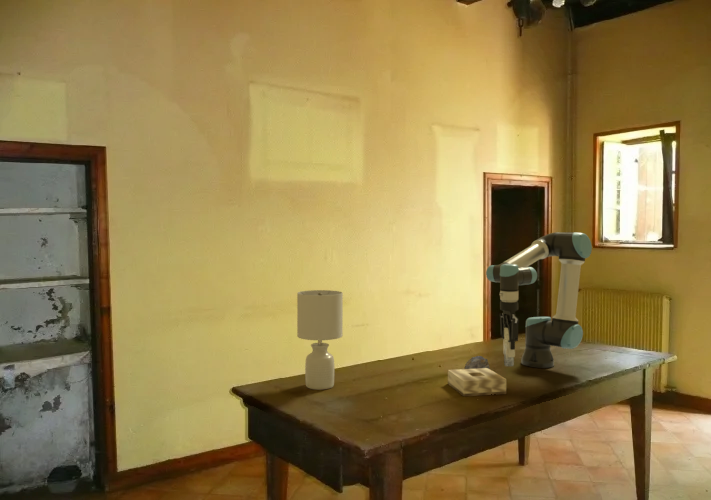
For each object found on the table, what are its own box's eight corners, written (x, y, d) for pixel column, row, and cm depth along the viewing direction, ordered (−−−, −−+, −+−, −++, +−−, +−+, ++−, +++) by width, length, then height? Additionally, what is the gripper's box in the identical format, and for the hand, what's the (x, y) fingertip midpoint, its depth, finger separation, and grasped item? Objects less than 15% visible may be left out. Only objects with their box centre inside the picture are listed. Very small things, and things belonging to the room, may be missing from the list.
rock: (491, 366, 263) (485, 350, 260) (489, 382, 255) (483, 365, 251) (468, 369, 268) (462, 352, 264) (466, 384, 260) (459, 367, 256)
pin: (511, 363, 247) (511, 326, 246) (515, 366, 243) (515, 328, 242) (502, 364, 246) (502, 327, 245) (506, 366, 242) (506, 328, 241)
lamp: (307, 395, 227) (307, 296, 226) (290, 383, 244) (290, 291, 242) (350, 389, 236) (350, 294, 234) (330, 378, 253) (330, 289, 251)
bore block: (487, 381, 248) (487, 368, 247) (506, 393, 230) (506, 379, 230) (447, 383, 244) (447, 369, 244) (463, 396, 227) (463, 381, 226)
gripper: (492, 298, 250) (492, 351, 252) (510, 304, 233) (510, 360, 235) (508, 297, 252) (508, 350, 253) (527, 303, 235) (526, 359, 236)
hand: (509, 355), depth 244 cm, fingers closed on pin, 4 cm apart
